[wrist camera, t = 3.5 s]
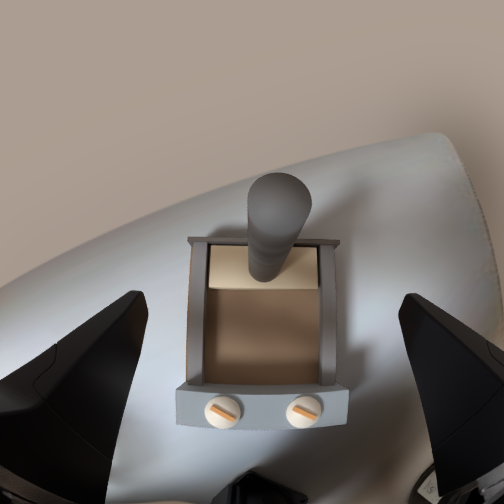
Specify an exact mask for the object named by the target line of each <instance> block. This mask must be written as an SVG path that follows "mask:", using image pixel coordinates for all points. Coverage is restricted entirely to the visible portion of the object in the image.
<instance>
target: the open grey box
mask: <svg viewBox="0 0 504 504" xmlns="http://www.w3.org/2000/svg"><path fill="white" fill-rule="evenodd" d="M187 241H188V242H189V244H190V245H191V260H190V274H189V291H188V311H187V340H186V381H188V385H193V386H203V384H204V383H213V384H232V385H295V384H314V383H318V384H319V385H320V386H333V385H335V380H336V344H337V316H336V279H335V259H334V249H335V248H336V247H337V246H338V245H339V244H340V240H323V239H296V241H295V243H294V245H293V247H312V248H316V251H317V277H318V289H316V290H315V291H287V290H228V289H210V288H209V275H210V256H211V245H217V246H248V238H241V237H188V240H187Z"/></svg>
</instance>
